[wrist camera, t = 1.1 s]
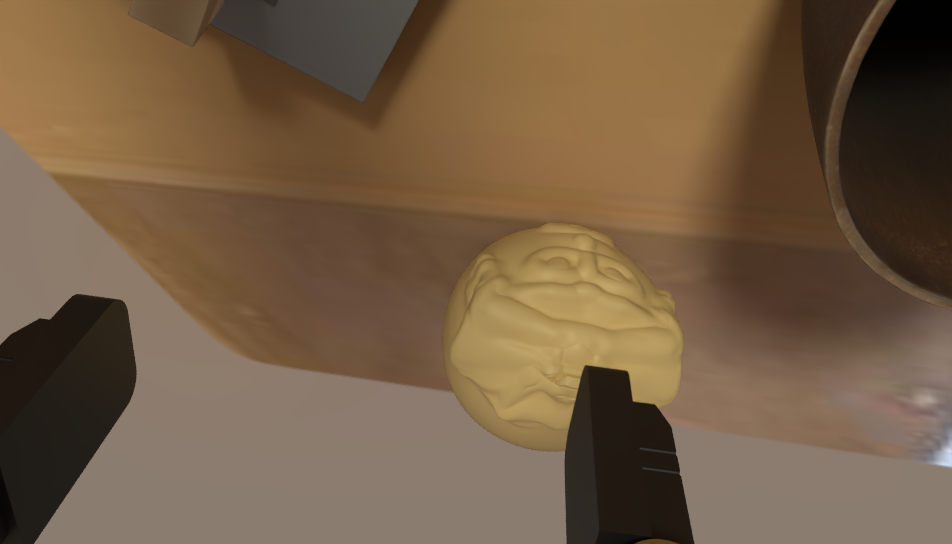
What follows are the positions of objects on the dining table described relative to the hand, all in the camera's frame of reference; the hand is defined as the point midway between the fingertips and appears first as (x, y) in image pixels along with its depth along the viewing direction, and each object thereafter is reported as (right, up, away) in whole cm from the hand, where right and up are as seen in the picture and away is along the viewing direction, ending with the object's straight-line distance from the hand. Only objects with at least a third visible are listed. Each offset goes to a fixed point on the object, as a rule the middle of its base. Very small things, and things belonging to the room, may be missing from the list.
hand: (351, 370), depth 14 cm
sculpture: (+6, +2, +31) cm, 32 cm away
